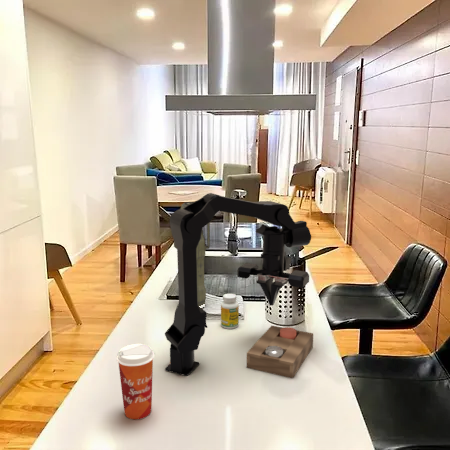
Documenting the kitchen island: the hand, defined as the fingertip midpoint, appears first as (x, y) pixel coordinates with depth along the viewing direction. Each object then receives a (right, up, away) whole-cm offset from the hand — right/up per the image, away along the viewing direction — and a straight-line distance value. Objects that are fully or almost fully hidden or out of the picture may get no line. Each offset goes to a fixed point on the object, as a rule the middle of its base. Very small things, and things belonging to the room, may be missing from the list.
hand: (271, 304), depth 128 cm
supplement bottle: (-11, -9, +15) cm, 21 cm away
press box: (+2, -13, -5) cm, 14 cm away
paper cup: (-31, -18, -28) cm, 46 cm away
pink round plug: (+4, -10, 0) cm, 11 cm away
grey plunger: (0, -13, -10) cm, 16 cm away
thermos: (-24, -6, +30) cm, 39 cm away
